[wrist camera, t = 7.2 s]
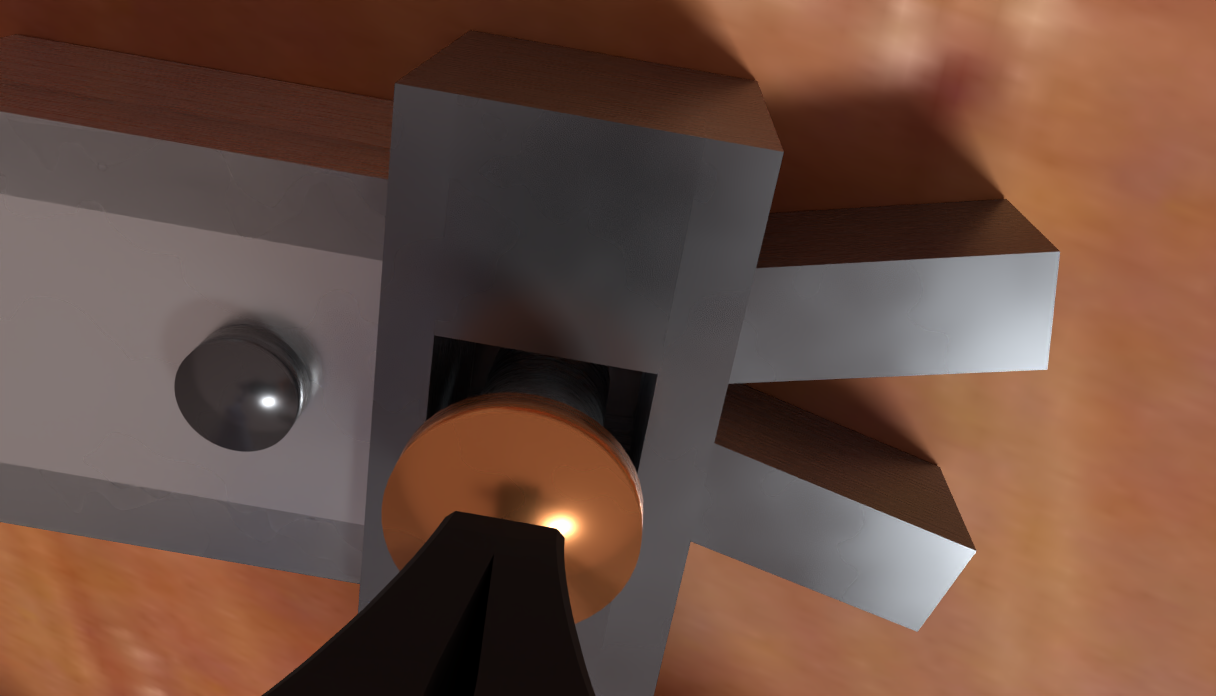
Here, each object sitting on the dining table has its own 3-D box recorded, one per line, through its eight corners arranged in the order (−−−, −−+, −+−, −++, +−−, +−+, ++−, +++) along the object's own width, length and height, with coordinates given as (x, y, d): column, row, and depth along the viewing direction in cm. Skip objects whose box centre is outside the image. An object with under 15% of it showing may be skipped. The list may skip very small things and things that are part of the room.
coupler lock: (46, 380, 21) (-136, 523, 16) (16, 33, 18) (-217, 87, 13) (428, 447, 21) (357, 609, 16) (462, 113, 18) (385, 193, 13)
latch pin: (442, 446, 18) (373, 609, 14) (461, 268, 16) (390, 392, 12) (632, 479, 18) (618, 652, 14) (668, 304, 16) (663, 440, 12)
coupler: (214, 474, 21) (89, 632, 17) (210, -16, 17) (43, 20, 13) (895, 592, 22) (951, 780, 17) (1058, 134, 17) (1190, 223, 13)
